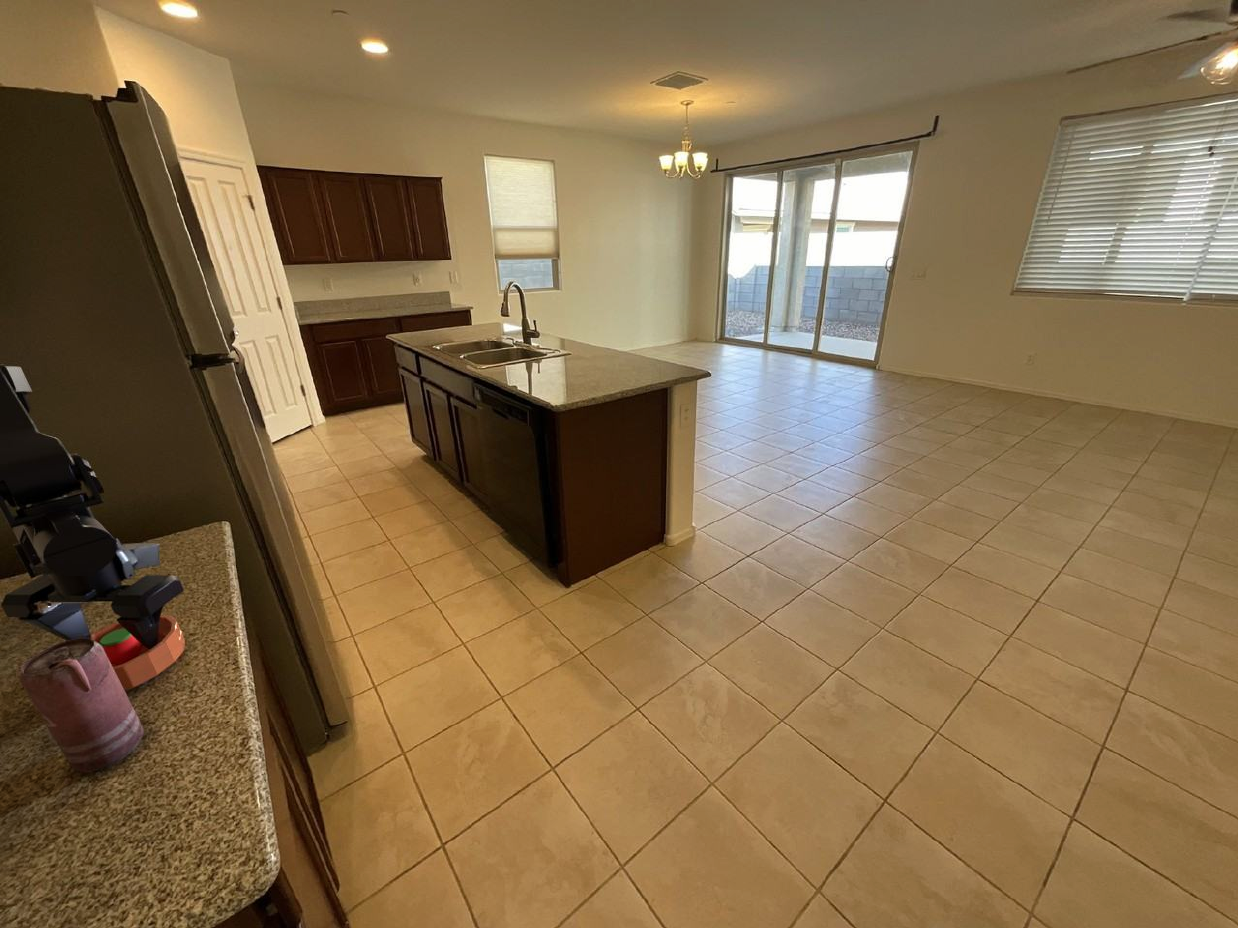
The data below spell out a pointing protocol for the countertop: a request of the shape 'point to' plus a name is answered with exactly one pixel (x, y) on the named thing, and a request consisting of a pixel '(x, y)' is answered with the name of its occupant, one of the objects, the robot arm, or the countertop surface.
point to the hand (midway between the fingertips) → (120, 646)
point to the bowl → (148, 653)
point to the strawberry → (120, 646)
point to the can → (82, 703)
